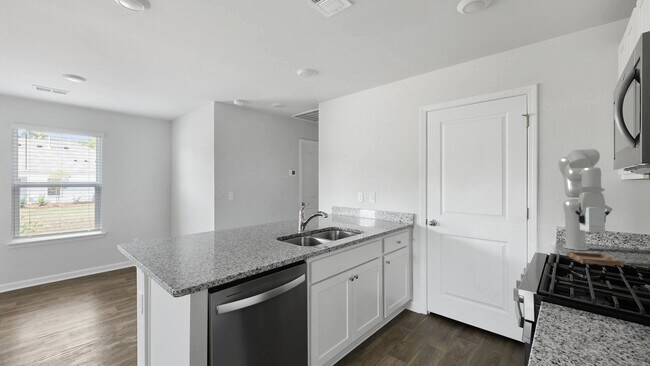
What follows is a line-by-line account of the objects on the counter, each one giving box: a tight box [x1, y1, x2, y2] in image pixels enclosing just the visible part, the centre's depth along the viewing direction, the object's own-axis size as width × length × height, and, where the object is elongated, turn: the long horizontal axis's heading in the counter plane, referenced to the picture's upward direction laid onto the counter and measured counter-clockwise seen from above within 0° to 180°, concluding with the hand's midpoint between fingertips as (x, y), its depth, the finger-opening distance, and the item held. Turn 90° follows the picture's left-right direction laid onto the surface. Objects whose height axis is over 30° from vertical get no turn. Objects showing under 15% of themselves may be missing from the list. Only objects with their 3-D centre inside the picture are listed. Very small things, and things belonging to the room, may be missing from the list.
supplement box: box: [580, 207, 606, 233], centre depth 150 cm, size 7×7×13 cm
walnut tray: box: [565, 251, 625, 268], centre depth 149 cm, size 18×16×2 cm
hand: (591, 223), depth 150 cm, fingers closed on supplement box, 8 cm apart
